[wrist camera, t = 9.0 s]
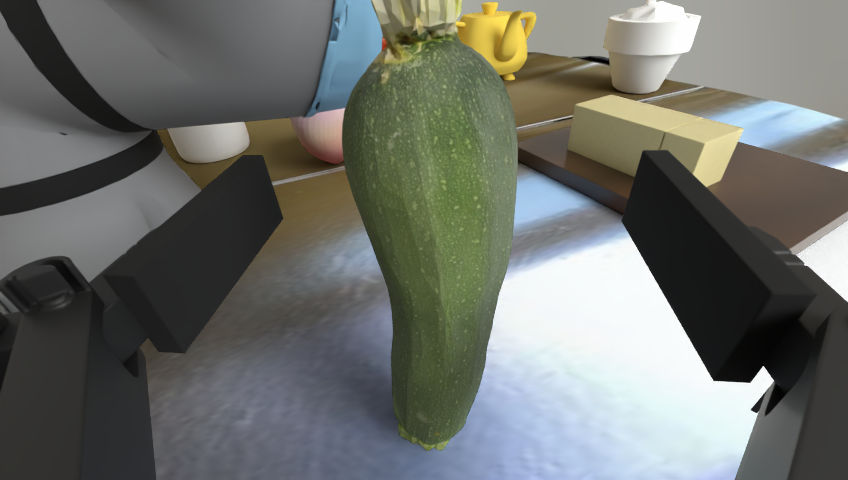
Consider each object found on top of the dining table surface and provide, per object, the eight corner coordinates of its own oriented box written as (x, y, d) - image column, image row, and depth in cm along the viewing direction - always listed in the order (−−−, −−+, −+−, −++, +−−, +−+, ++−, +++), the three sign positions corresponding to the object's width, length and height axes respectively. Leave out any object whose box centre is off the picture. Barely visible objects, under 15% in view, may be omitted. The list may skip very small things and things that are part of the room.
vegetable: (437, 373, 20) (407, -175, 8) (510, 423, 18) (611, -244, 6) (378, 441, 17) (208, -229, 6) (455, 509, 15) (440, -392, 3)
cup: (184, 170, 43) (140, 76, 37) (175, 140, 52) (139, 60, 46) (258, 151, 47) (228, 62, 41) (239, 126, 55) (212, 49, 49)
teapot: (436, 86, 67) (434, 8, 60) (464, 68, 78) (464, 0, 71) (515, 90, 62) (521, 6, 55) (533, 70, 72) (540, -3, 65)
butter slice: (648, 183, 32) (665, 131, 29) (685, 168, 34) (704, 118, 31) (683, 198, 30) (705, 143, 27) (720, 180, 32) (744, 127, 29)
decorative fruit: (388, 170, 40) (376, 70, 35) (311, 188, 38) (284, 83, 32) (364, 141, 48) (351, 54, 42) (298, 155, 45) (274, 64, 39)
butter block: (567, 149, 39) (574, 104, 36) (601, 138, 40) (611, 94, 38) (647, 183, 32) (664, 131, 29) (684, 167, 34) (703, 117, 31)
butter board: (510, 156, 41) (511, 143, 41) (621, 121, 48) (624, 110, 47) (755, 281, 24) (766, 263, 23) (877, 200, 31) (890, 183, 30)
